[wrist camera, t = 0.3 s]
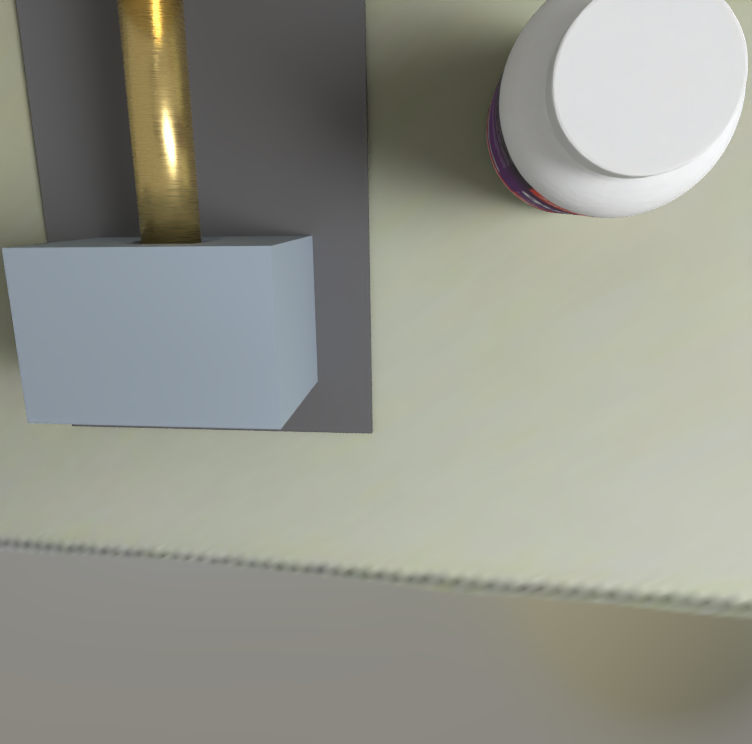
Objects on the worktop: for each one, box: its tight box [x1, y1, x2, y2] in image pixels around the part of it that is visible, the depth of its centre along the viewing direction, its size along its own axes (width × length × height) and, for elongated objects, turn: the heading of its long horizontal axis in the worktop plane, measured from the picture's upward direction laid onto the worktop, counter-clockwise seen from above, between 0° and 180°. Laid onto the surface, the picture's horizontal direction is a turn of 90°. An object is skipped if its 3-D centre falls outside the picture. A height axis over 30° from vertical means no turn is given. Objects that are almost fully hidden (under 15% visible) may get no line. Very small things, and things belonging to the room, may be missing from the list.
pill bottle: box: [486, 0, 748, 218], centre depth 27 cm, size 8×8×14 cm
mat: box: [16, 0, 373, 433], centre depth 36 cm, size 28×18×1 cm, turn 1°
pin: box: [117, 0, 202, 244], centre depth 31 cm, size 18×8×8 cm, turn 1°
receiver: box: [2, 236, 318, 429], centre depth 34 cm, size 8×12×8 cm, turn 91°
